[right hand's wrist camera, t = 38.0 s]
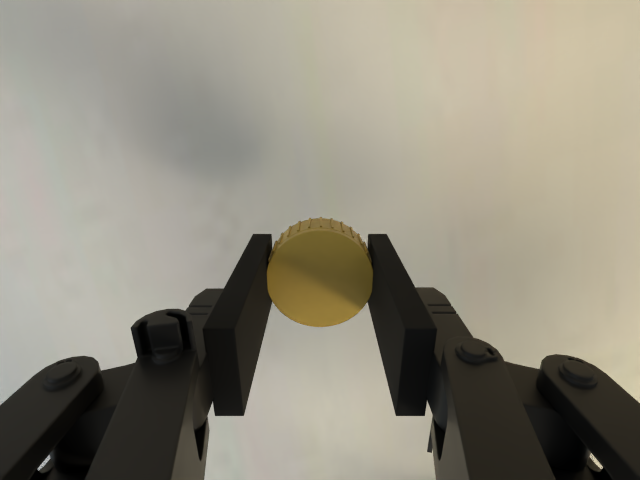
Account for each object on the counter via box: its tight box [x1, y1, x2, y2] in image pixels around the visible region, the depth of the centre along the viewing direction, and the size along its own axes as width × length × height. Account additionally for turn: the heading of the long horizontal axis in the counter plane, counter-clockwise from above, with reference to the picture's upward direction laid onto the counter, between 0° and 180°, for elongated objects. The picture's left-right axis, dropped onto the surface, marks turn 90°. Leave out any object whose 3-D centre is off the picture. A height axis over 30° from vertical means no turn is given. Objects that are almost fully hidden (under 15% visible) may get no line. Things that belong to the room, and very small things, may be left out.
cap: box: [267, 217, 373, 327], centre depth 14 cm, size 4×4×2 cm
